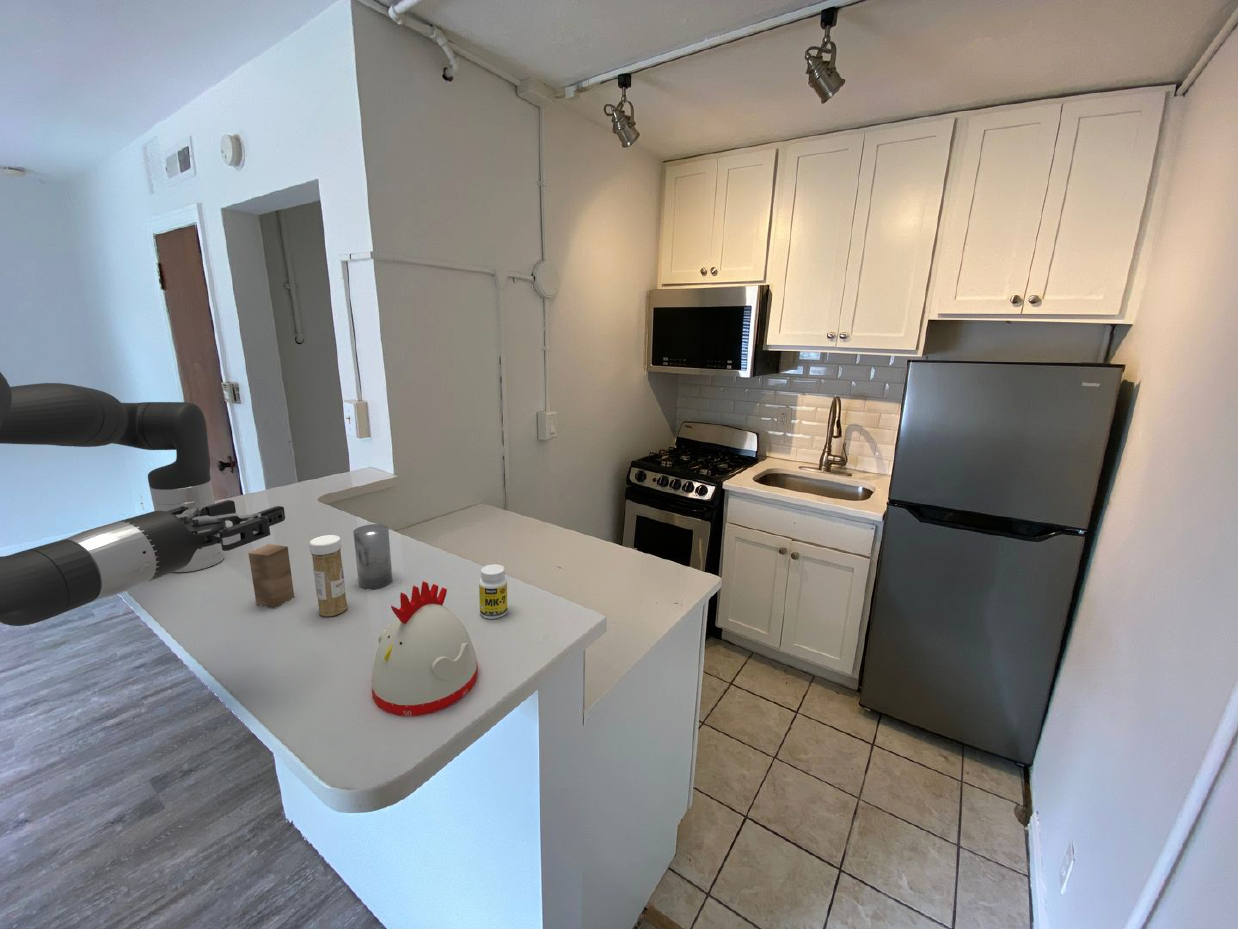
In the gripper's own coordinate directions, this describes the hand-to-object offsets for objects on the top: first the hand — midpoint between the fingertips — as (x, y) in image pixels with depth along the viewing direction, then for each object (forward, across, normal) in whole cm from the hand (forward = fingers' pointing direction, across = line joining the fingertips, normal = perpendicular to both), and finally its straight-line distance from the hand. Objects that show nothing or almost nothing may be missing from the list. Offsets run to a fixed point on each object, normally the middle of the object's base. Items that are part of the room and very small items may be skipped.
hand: (257, 509), depth 71 cm
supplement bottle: (+18, -27, +23) cm, 40 cm away
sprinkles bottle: (+11, 0, +22) cm, 25 cm away
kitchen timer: (-1, -26, +23) cm, 35 cm away
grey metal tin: (+22, 0, +22) cm, 32 cm away
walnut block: (+11, +12, +22) cm, 28 cm away
